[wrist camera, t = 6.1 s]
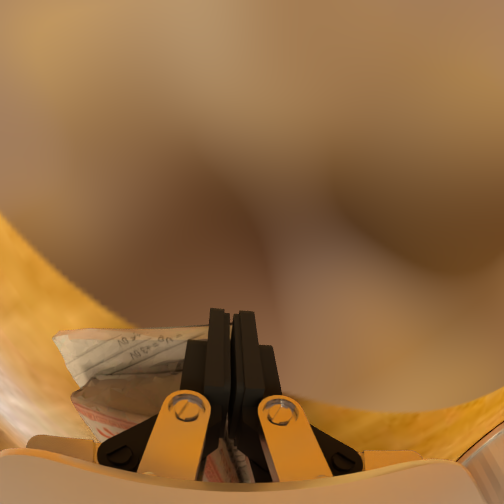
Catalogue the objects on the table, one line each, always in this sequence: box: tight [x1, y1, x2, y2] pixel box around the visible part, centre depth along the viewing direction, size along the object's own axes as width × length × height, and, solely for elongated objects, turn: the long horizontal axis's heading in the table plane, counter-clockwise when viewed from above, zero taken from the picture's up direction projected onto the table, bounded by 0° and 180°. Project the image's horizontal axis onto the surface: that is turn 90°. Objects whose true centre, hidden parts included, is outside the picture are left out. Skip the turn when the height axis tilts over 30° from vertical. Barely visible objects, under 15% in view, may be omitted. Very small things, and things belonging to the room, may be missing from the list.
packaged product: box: [52, 322, 251, 483], centre depth 14 cm, size 18×5×10 cm
